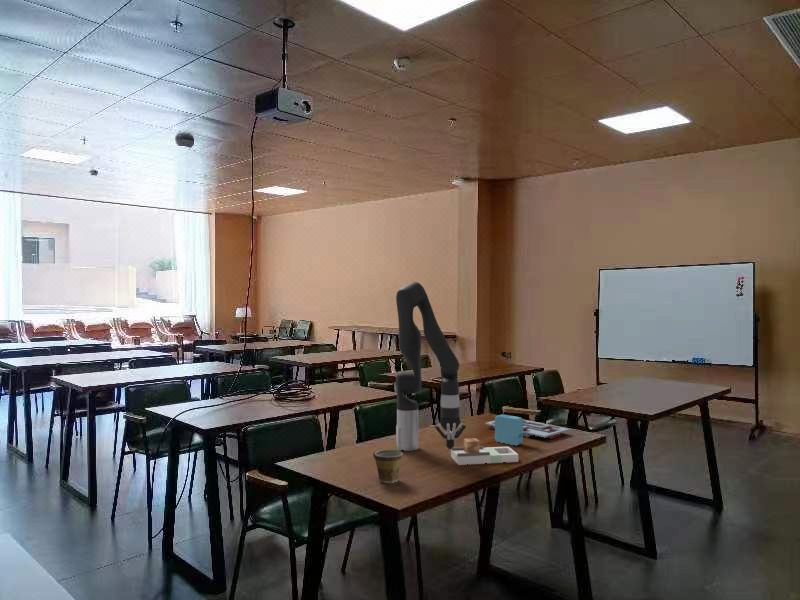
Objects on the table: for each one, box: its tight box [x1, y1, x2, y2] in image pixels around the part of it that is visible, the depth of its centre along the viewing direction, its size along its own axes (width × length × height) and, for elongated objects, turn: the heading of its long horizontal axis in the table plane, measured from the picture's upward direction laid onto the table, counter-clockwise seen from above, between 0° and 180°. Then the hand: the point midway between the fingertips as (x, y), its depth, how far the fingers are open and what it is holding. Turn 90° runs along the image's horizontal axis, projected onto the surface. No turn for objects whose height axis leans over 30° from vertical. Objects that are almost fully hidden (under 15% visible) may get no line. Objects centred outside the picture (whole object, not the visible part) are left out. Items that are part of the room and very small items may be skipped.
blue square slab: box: [494, 414, 524, 447], centre depth 260 cm, size 12×4×12 cm, turn 48°
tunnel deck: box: [450, 445, 519, 466], centre depth 236 cm, size 24×12×4 cm, turn 99°
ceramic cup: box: [372, 449, 403, 484], centre depth 210 cm, size 13×10×10 cm
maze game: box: [485, 418, 570, 439], centre depth 282 cm, size 35×20×3 cm, turn 40°
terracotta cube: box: [463, 437, 480, 453], centre depth 235 cm, size 5×5×5 cm
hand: (450, 448), depth 233 cm, fingers closed
